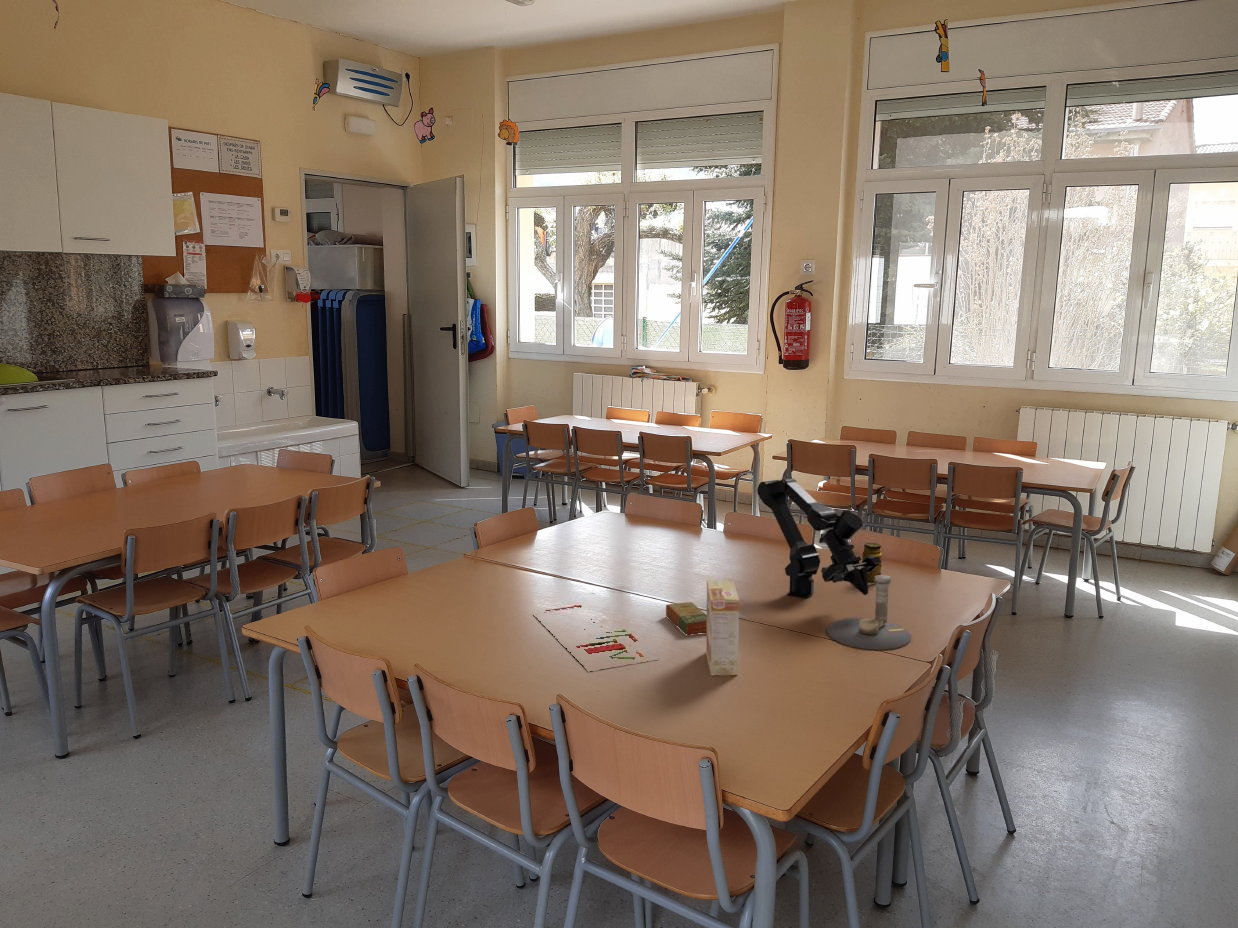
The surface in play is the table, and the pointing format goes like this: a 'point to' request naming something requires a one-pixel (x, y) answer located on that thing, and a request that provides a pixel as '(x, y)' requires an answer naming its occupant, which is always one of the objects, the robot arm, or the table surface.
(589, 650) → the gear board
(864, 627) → the crank handle
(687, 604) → the carton
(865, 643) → the dial plate
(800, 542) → the robot arm
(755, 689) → the table surface
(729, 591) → the coffeecake box
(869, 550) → the condiment
